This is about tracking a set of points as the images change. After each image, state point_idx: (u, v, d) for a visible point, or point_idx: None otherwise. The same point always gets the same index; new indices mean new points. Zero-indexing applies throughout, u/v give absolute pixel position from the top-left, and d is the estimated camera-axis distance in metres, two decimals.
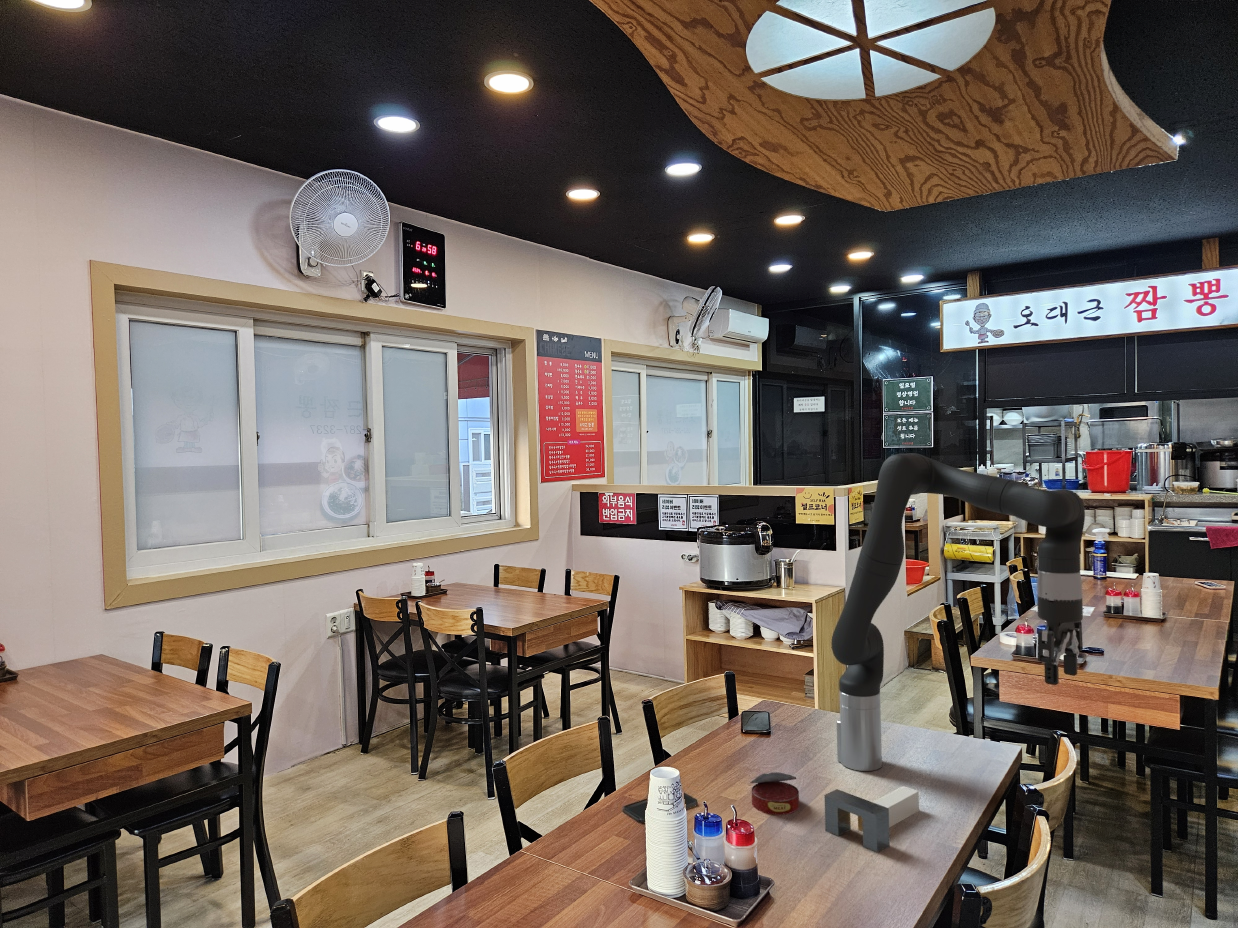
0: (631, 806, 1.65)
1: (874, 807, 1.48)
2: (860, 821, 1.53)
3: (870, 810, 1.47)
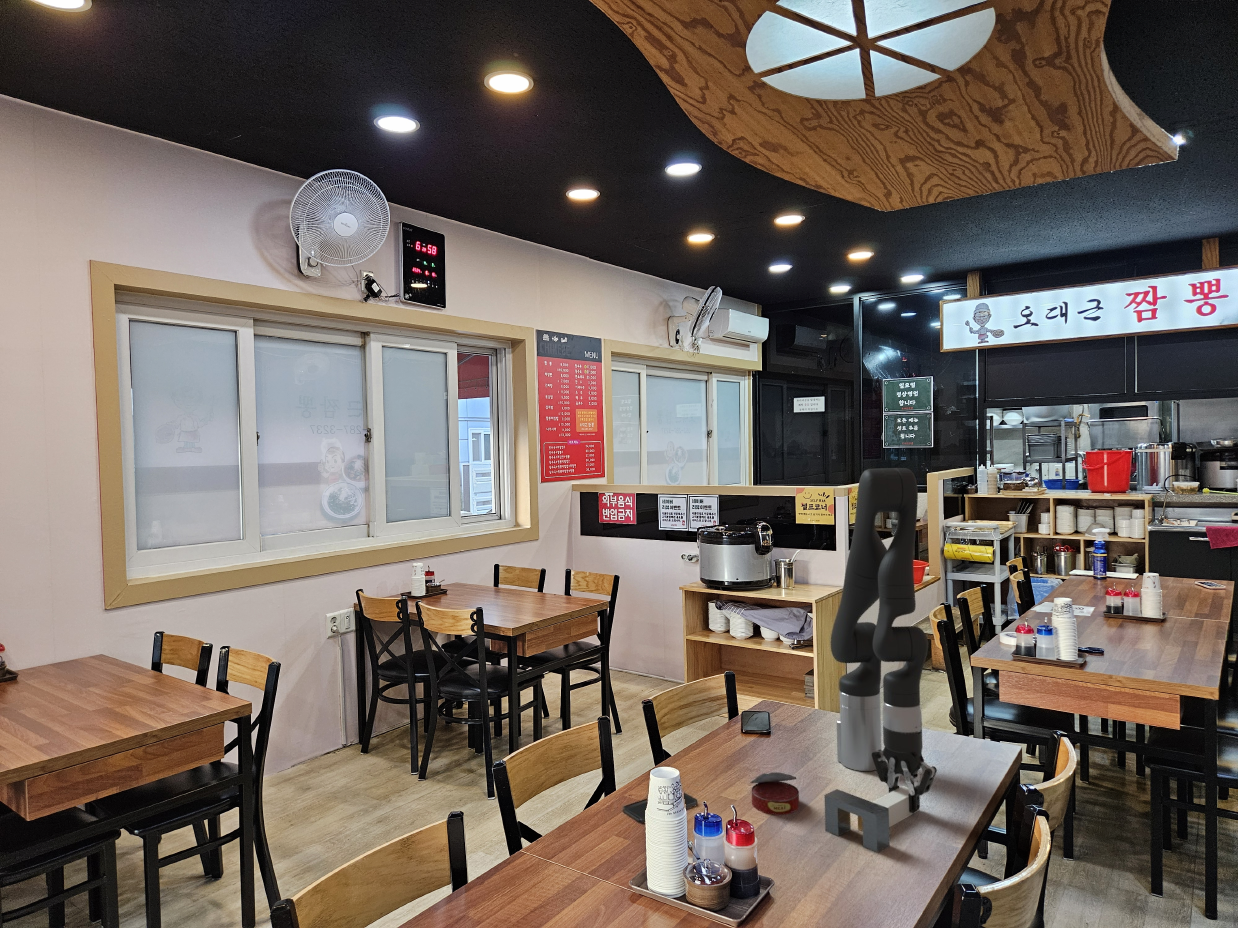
0: (631, 806, 1.65)
1: (874, 807, 1.48)
2: (860, 821, 1.53)
3: (870, 810, 1.47)
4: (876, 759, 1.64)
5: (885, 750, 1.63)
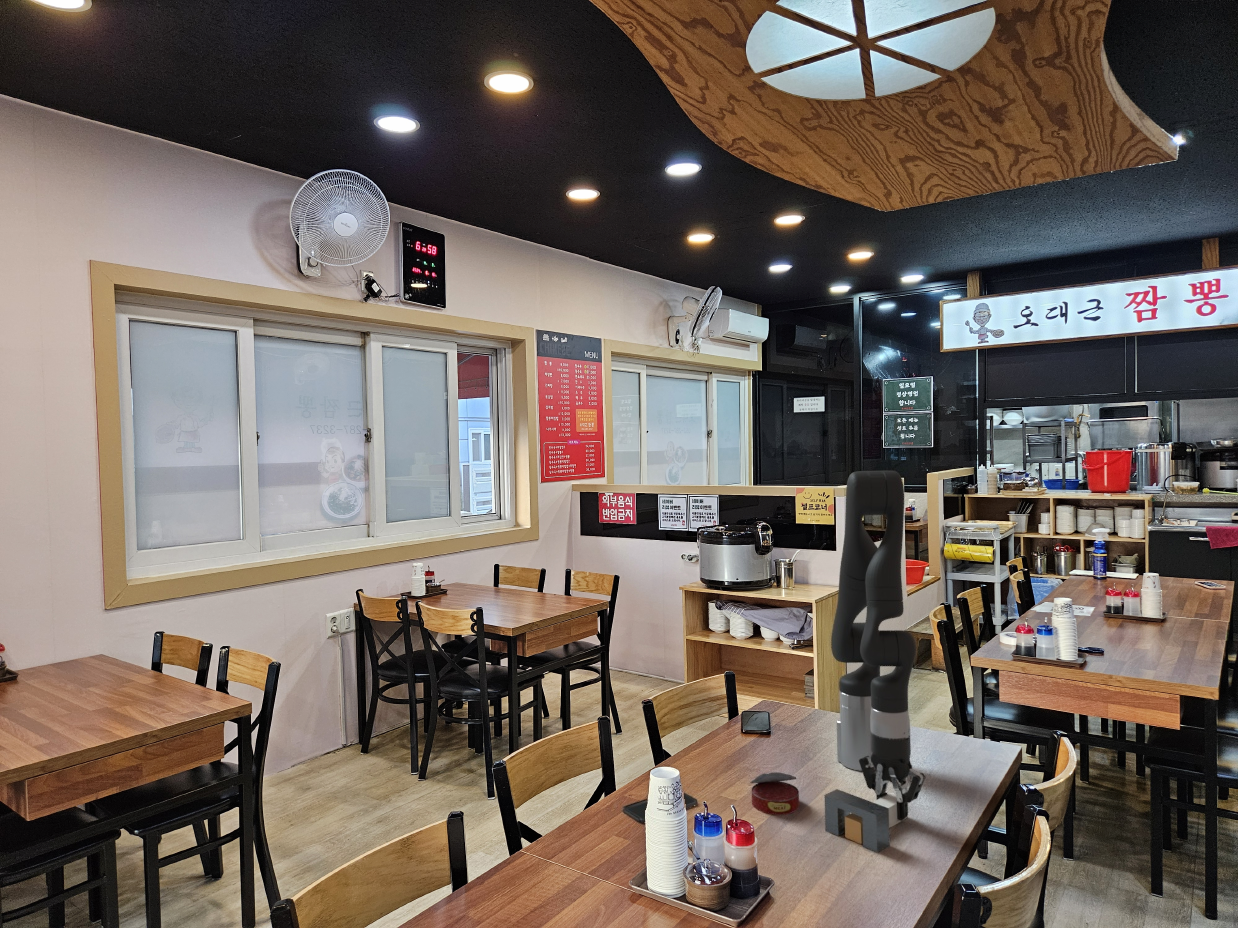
0: (631, 806, 1.65)
1: (874, 807, 1.48)
2: (847, 829, 1.50)
3: (870, 810, 1.47)
4: (864, 765, 1.61)
5: (873, 756, 1.59)
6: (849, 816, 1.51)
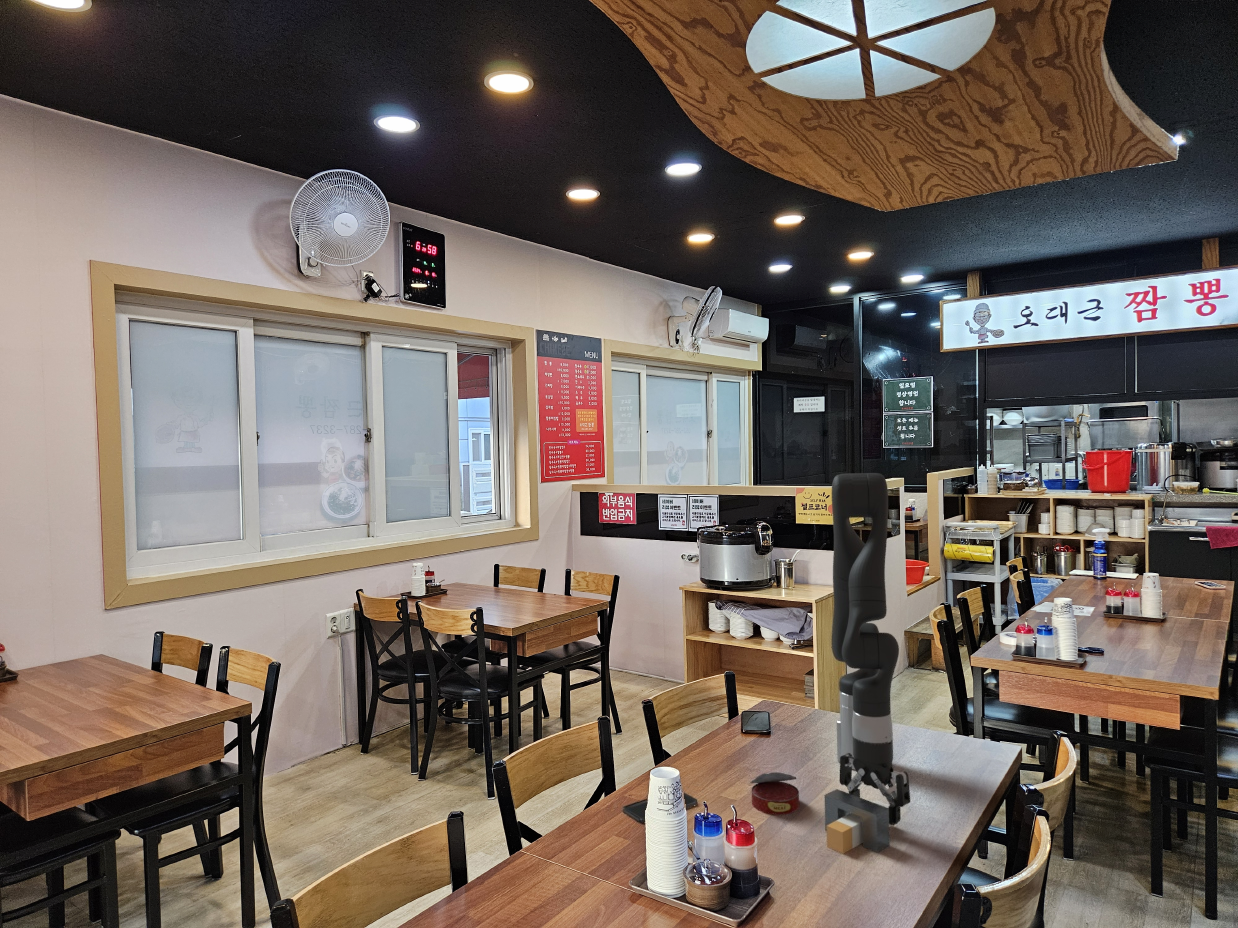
0: (631, 806, 1.65)
1: (874, 807, 1.48)
2: (829, 838, 1.47)
3: (870, 810, 1.47)
4: (843, 763, 1.58)
5: (856, 761, 1.56)
6: (830, 825, 1.47)
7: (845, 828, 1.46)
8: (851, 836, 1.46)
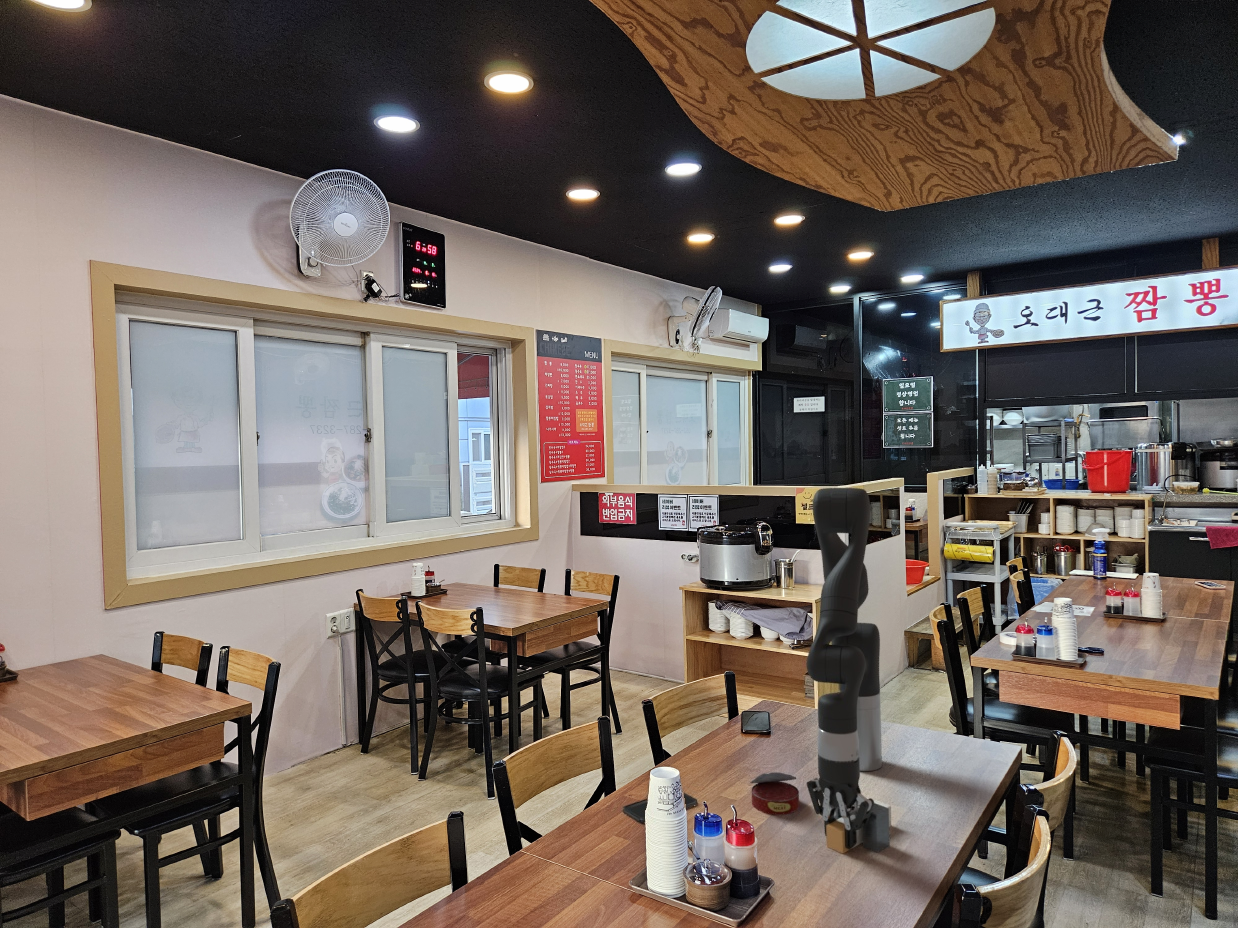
0: (631, 806, 1.65)
1: (874, 807, 1.48)
2: (829, 837, 1.47)
3: None
4: (811, 789, 1.51)
5: (820, 779, 1.49)
6: (830, 824, 1.47)
7: None
8: None
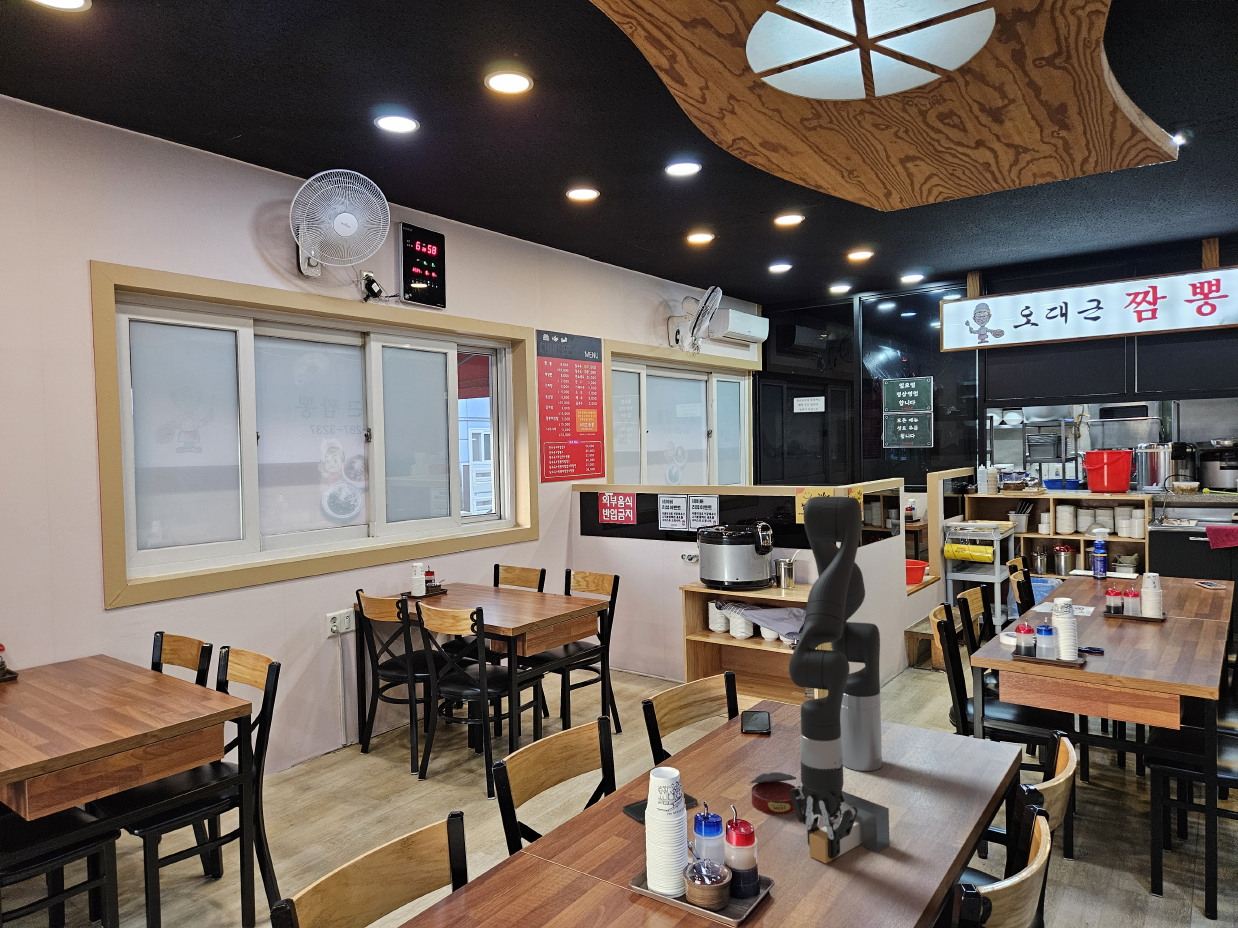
0: (631, 806, 1.65)
1: (874, 807, 1.48)
2: (812, 847, 1.44)
3: (870, 810, 1.47)
4: (794, 797, 1.47)
5: (803, 787, 1.46)
6: (813, 834, 1.44)
7: None
8: None
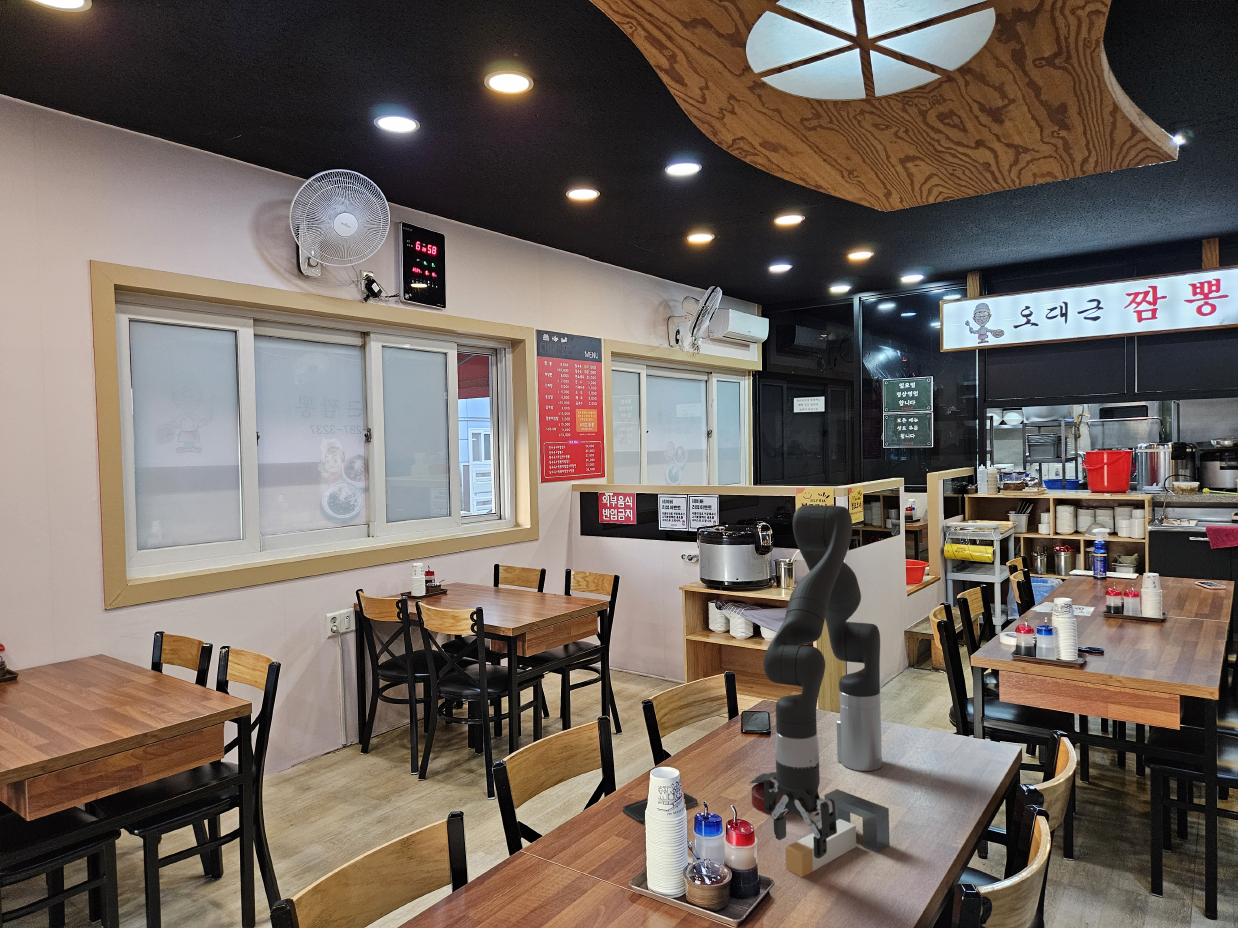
0: (631, 806, 1.65)
1: (874, 807, 1.48)
2: (788, 860, 1.40)
3: (870, 810, 1.47)
4: (767, 788, 1.44)
5: (780, 786, 1.42)
6: (790, 846, 1.40)
7: (805, 849, 1.39)
8: (811, 858, 1.39)
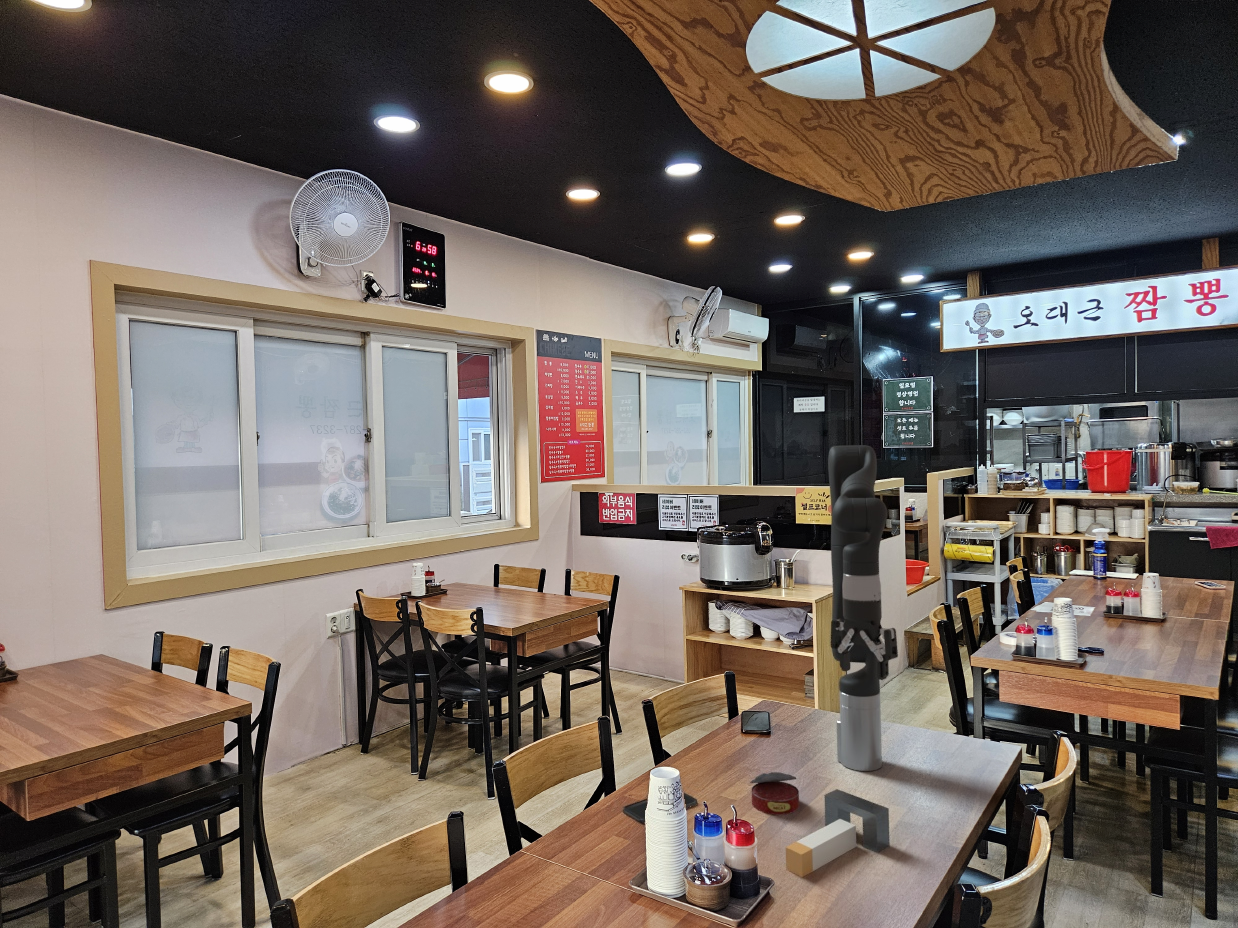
0: (631, 807, 1.65)
1: (874, 807, 1.48)
2: (788, 860, 1.40)
3: (870, 810, 1.47)
4: (834, 627, 1.65)
5: (846, 623, 1.62)
6: (790, 846, 1.40)
7: (805, 849, 1.39)
8: (811, 858, 1.39)
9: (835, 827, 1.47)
